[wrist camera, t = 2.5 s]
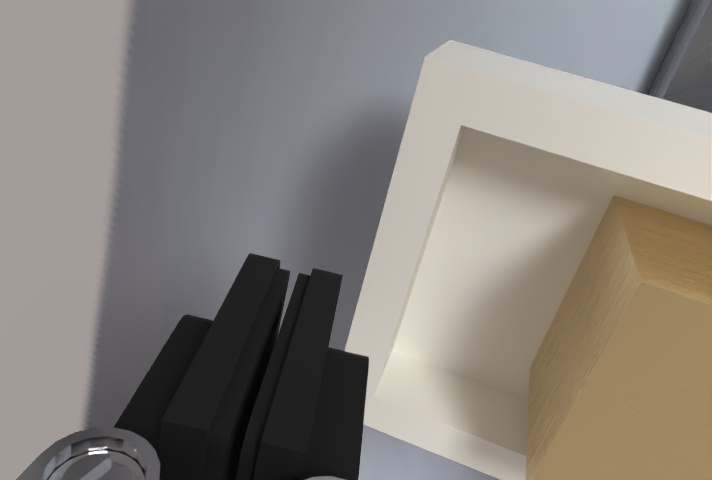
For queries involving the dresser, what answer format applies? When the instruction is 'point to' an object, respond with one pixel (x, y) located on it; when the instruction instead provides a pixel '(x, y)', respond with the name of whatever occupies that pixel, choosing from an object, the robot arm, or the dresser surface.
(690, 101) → the stand
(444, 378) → the beam
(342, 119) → the dresser surface
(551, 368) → the block
